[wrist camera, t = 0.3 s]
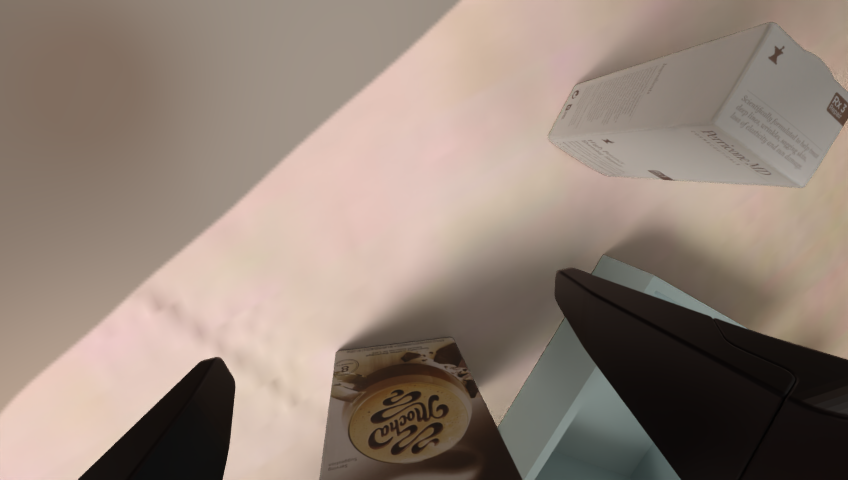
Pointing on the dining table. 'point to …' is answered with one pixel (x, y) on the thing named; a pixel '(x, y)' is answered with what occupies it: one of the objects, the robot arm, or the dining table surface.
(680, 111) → the skincare box
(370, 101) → the dining table surface
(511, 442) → the tote
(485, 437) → the coffee box
